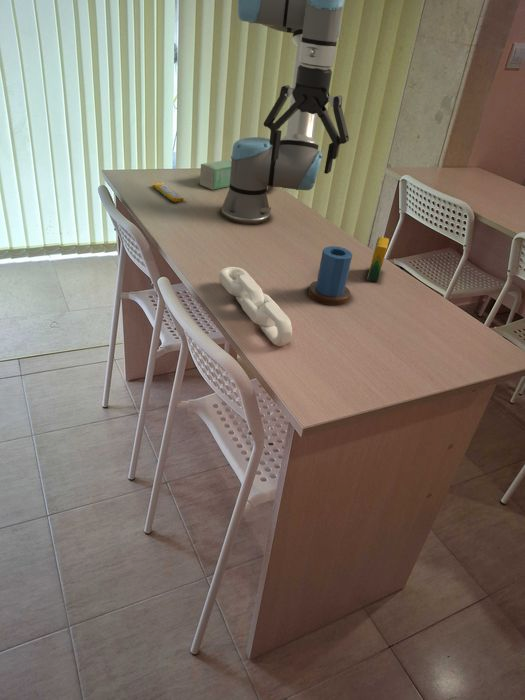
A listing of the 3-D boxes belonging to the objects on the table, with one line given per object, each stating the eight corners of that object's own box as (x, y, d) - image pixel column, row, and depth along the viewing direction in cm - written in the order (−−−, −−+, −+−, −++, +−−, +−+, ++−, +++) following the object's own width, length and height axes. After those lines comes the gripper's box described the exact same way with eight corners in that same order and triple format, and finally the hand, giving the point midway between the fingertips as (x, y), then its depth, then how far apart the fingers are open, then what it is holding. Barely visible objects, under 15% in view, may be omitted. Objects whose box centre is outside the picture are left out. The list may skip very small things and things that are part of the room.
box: (240, 184, 196) (242, 163, 192) (213, 190, 187) (214, 169, 183) (226, 179, 200) (228, 158, 196) (199, 184, 191) (200, 163, 187)
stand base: (305, 284, 136) (306, 279, 135) (343, 286, 138) (345, 281, 137) (312, 304, 128) (313, 298, 127) (353, 306, 130) (354, 300, 129)
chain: (297, 347, 112) (301, 321, 109) (271, 352, 109) (274, 326, 106) (238, 281, 133) (241, 258, 130) (215, 284, 131) (217, 261, 127)
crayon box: (377, 282, 142) (388, 241, 135) (366, 280, 142) (376, 239, 136) (380, 271, 148) (391, 231, 141) (370, 269, 148) (379, 229, 142)
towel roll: (314, 282, 134) (320, 245, 129) (340, 283, 135) (348, 247, 130) (319, 295, 129) (326, 257, 123) (346, 297, 130) (355, 259, 124)
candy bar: (184, 202, 174) (185, 197, 173) (173, 204, 172) (173, 198, 171) (162, 186, 185) (162, 180, 184) (151, 187, 183) (151, 181, 182)
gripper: (255, 57, 117) (246, 157, 129) (366, 77, 110) (345, 181, 122) (269, 56, 122) (259, 151, 134) (375, 74, 115) (354, 174, 127)
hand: (300, 166), depth 128 cm, fingers open, 13 cm apart
